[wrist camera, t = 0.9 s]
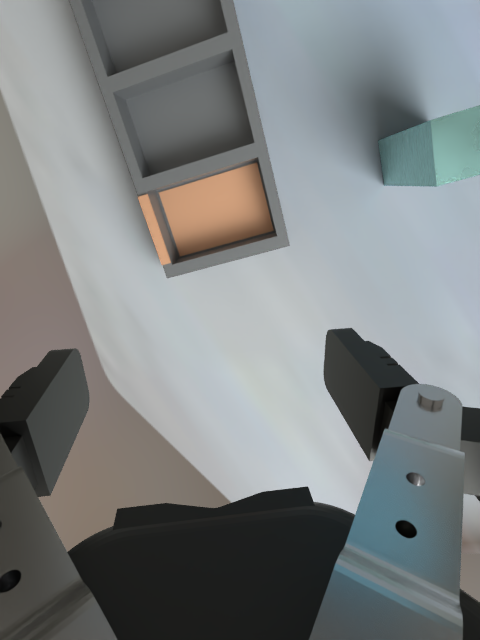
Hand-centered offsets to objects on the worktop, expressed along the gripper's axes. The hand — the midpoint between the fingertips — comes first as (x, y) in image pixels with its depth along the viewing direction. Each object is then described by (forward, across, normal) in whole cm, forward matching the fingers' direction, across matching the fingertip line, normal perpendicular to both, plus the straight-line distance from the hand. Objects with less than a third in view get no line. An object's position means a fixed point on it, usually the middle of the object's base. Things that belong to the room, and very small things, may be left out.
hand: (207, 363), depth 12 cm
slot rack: (+23, 0, -9) cm, 25 cm away
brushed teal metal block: (+20, -17, -6) cm, 27 cm away
